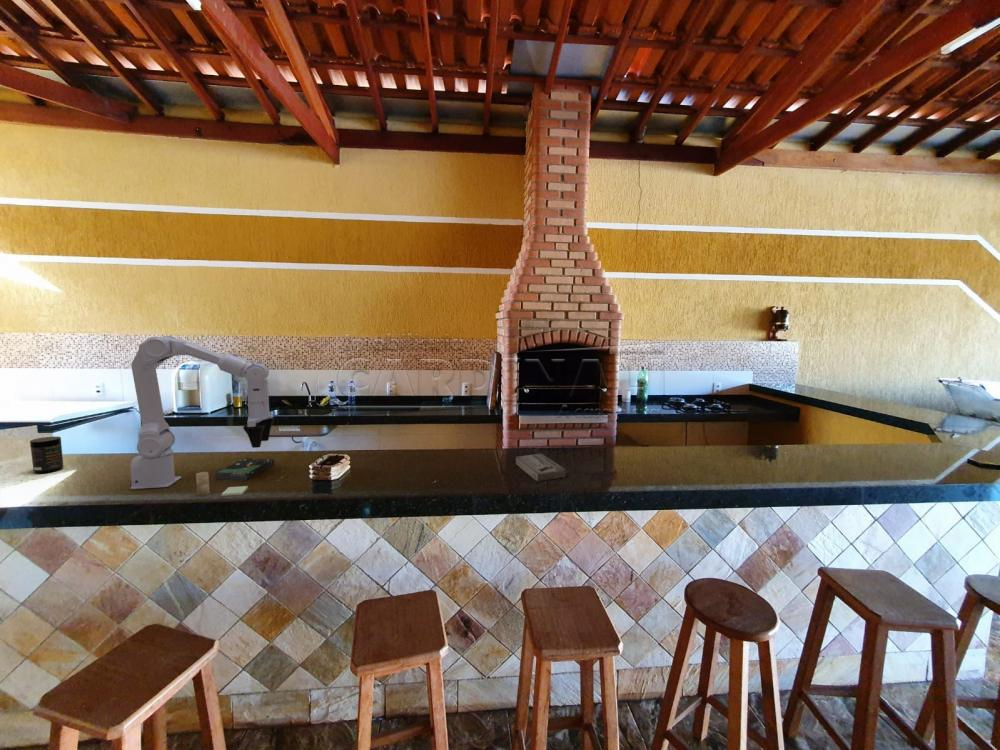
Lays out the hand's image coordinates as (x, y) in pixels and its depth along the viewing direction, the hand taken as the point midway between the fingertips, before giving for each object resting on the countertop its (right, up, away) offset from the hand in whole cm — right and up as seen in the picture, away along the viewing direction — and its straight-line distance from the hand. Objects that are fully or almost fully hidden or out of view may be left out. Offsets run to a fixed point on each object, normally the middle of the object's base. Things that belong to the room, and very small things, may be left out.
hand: (260, 443), depth 133 cm
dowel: (-7, -12, -15) cm, 21 cm away
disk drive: (-6, -10, +3) cm, 13 cm away
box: (+90, -11, +8) cm, 91 cm away
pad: (+1, -12, -14) cm, 18 cm away
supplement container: (-69, -9, +1) cm, 69 cm away
